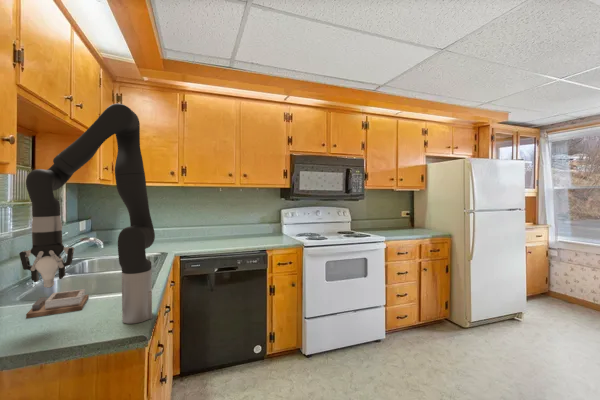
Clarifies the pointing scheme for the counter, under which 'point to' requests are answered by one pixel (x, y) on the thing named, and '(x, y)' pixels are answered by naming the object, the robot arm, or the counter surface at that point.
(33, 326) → the counter surface
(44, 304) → the jig
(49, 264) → the lightbulb
